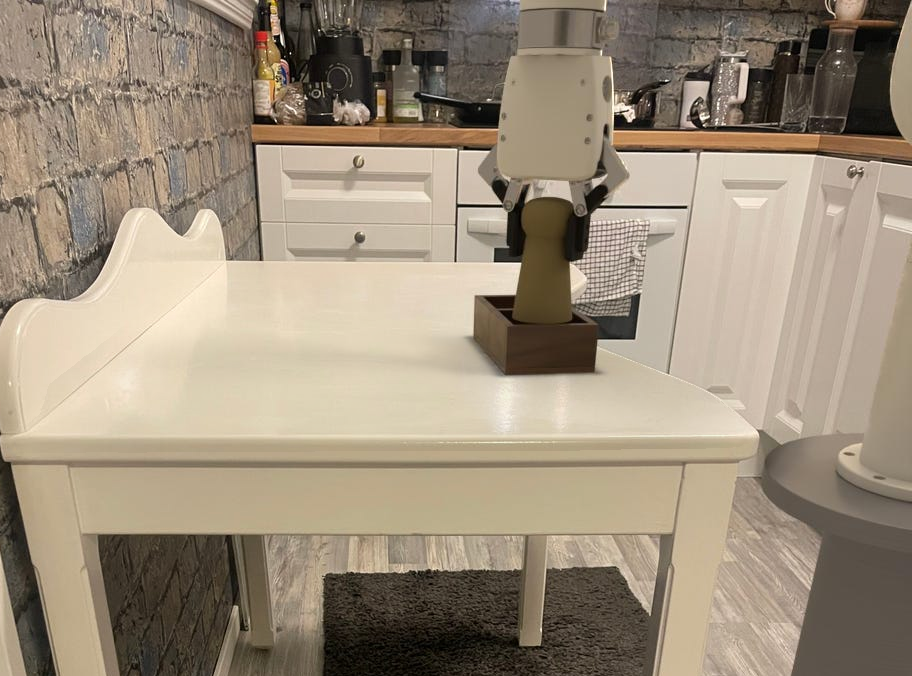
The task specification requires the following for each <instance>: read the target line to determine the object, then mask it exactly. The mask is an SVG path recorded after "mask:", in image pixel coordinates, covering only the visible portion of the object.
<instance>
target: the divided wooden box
mask: <svg viewBox="0 0 912 676" xmlns="http://www.w3.org/2000/svg"><path fill="white" fill-rule="evenodd" d="M515 297H516V294H475V295H474V299H473V300H474V301H473V302H474V303H473V334H472V338H473V339H474V340H475V341H476V342H477V343H478V345H479V346H480V347H481V348H482V350H483V351H484V352H485V353H486V354H487V355H488V357H489V358H490V359H491V360H492V361H493V362H494V363H495V364H496V365H497V367H498V368H499V369H500V370H501V372H503V373H504V375H507V376H508V375H542V374H544V375H545V374H547V375H548V374H581V373H583V374H584V373H585V374H586V373H595V372H596V364H597V363H596V362H597V352H598V351H597V350H598V341H599V331H600V324H599V323H598V322H595V321H594V320H593V319H592V318H590V317H588V316H587V315H585V314H584V313H583V312H581V311H579V310H577V308H575V307H573V306H572V320H571V321H568V322H564V323H555V324H538V323H527V322H522V321H517V320H515V319H513V318H512V314H513V308H514V302H515Z"/></svg>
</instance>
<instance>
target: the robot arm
mask: <svg viewBox="0 0 912 676" xmlns="http://www.w3.org/2000/svg"><path fill="white" fill-rule="evenodd" d="M518 6H519V7H518V19H517V20H518V21H517V40H516V41H517V44H516V55H511V56H510V58H509V62H508V66H507V71H506V75H505V80H504V84H503V91H502V95H501V96H502V97H501V104H500V110H499V121H498V130H497V141H496V143H495V144H494V145H493V147H492V148H491V149H490V150H489V152H488V153H487V155H486V156H485V158H484V159H483V160H482V162H481V163H480V164H479V165H478V168H477V174H478V175H479V176H480V177H481V178H482V180H483V181H484V182H485V184H487V185H488V186H489V187H490V188H491V191H492V192H493V194H494V195H495V196H496V197H497V199H498V201H500V203H501V204H502V209H503V210H504V211H505V212H506V213H507V217H506V236H505V237H506V238H505V239H506V240H505V243H506V246H507V247H508V256H509V257H510V258H517V257H521V256H523V251H524V245H525V239H526V233H525V231H524V230H523V228H522V223H521V214H522V210H523V207H524V206H525V204H526V202H528V199H529V195H530V192H531V189H532V186H533V183H534V180H537V181H538V180H539V181H541V180H542V181H561V182H568V186H569V190H570V191H569V192H570V196H571V202H572V203H573V207H574V209H573V216H570V217H569V218H568V225H567V239H566V252H565V260H567V262H570V263H574V262H578V261H580V260H583V259H584V255H585V253H587V251H588V249H589V241H590V231H591V221H592V220H591V217H592V215H594V213H596V211H597V209H598V208H599V207H600V206H601V205H603V204H604V202H606V200H607V199H608V198H609V197H610V196H611V195H612V194H613V193H614V192H616V191H617V190H618V189H619V188H620V187H622V186H623V185H624V184H625V183H626V182H628V180H629V179H630V171H629V170H628V168H627V166H626V165H625V164H624V162H623V160H622V159H621V157H620V155H619V154H618V152H617V151H616V148H615V147H614V121H615V120H614V117H615V116H614V115H615V114H614V111H615V110H614V108H615V107H614V104H615V103H614V75H613V64H612V57H611V56H607V55H603V50H604V49H605V48H606V43H607V42H609V41H610V40H617V39H618V38H619V35H620V22H619V21H618V20H611V19H610V18H608V13H606V11H607V10H606V9H607V0H519V5H518ZM889 83H890V85H889V86H890V87H889V95H890V97H889V98H890V99H889V101H890V107H891V112H892V117H893V119H894V122H895V124H896V127H897V129H898V131H899V132H900V134H901V136H902V137H903V139H904V140H905V141H906V142H907V143H908V144H909V145H910V146H911V147H912V0H911V1H910V4H909V7H908V10H907V13H906V15H905V18H904V22H903V25H902V29H901V31H900V36H899V39H898V41H897V46H896V49H895V54H894V57H893V62H892V68H891V74H890V82H889ZM605 176H606V177H605ZM505 177H507V178H509V179H510V180H508V179H506V178H505ZM603 177H605V178H604V179H603V180H602V181H601V182H600V183H599V184H598V185H596V186H594V184H593V180H595V179H600V178H603ZM877 375H878V376H877V380H876V384H875V389H874V393H873V397H872V401H871V406H870V410H869V414H868V418H867V422H866V426H865V431H864V433H865V434H864V439H863V443H859V444H855V445H851V446H849V447H846V448H844V449H843V450H842V451H840V452H839V454H838V457H837V461H836V470H837V472H838V474H839V475H840V476H841V477H842V478H843V479H845V480H846V481H847V482H849V483H851V484H853V485H854V486H857V487H859V488H861V489H863V490H866V491H868V492H871V493H874V494H877V495H880V496H884V497H888V498H892V499H896V500H900V501H905V502H910V503H912V237H911V239H910V243H909V247H908V252H907V256H906V258H905V261H904V266H903V271H902V274H901V279H900V282H899V287H898V291H897V296H896V300H895V305H894V308H893V312H892V316H891V321H890V325H889V330H888V334H887V338H886V341H885V346H884V350H883V355H882V359H881V363H880V367H879V372H878V374H877Z"/></svg>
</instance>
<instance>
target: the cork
mask: <svg viewBox="0 0 912 676" xmlns="http://www.w3.org/2000/svg"><path fill="white" fill-rule="evenodd" d="M573 209H574V207H573V202H572V201H570V200H569V199H566V198H563V197H558V196H540V197H536V198H531V199H530V200H527V201H526V204H525V206H524V207H523V210H522V214H521V223H522V228H523V230H524V231H525V233H526V239H525V245H524V251H523V255H521V256H522V257H521V261H520V262H521V263H520V268H519V274H518V280H517V286H516V291H515V295H516V297H515V302H514V308H513V314H512V318H513V319H515V320H517V321H522V322H527V323H538V324H555V323H564V322H568V321H571V320H572V307H573V305H572V304H573V303H572V302H573V301H572V286H571V283H572V282H571V262H567V260H565V252H566V239H567V225H568V218H569V217H570V216H573Z"/></svg>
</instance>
